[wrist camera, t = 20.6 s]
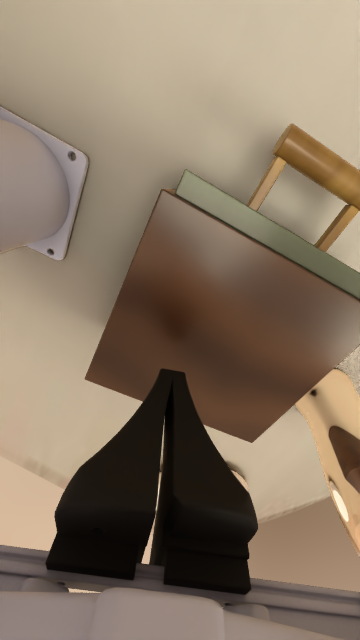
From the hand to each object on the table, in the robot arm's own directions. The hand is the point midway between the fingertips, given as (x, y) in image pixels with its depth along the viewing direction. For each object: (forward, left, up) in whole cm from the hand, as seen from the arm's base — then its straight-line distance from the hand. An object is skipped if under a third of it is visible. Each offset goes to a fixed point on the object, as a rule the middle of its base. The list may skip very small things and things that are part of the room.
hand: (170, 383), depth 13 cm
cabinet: (+3, +2, -9) cm, 10 cm away
